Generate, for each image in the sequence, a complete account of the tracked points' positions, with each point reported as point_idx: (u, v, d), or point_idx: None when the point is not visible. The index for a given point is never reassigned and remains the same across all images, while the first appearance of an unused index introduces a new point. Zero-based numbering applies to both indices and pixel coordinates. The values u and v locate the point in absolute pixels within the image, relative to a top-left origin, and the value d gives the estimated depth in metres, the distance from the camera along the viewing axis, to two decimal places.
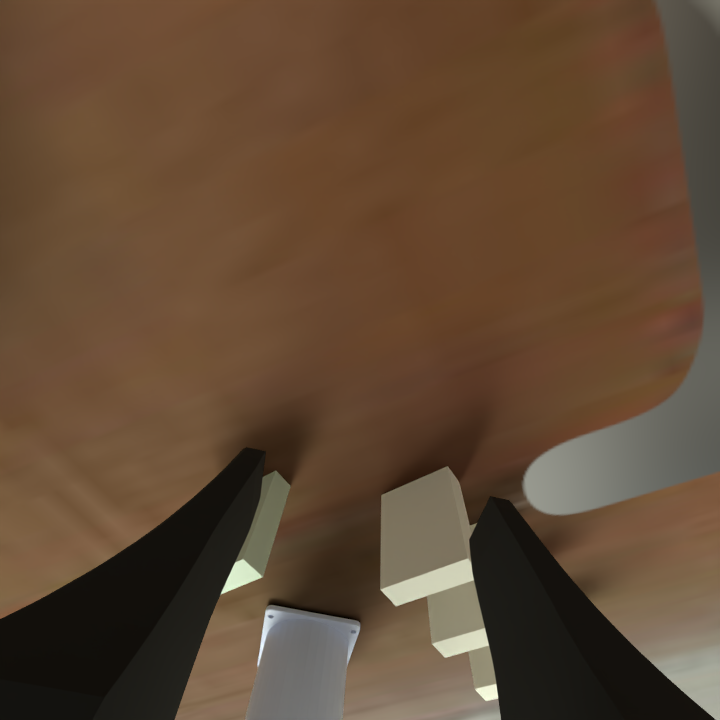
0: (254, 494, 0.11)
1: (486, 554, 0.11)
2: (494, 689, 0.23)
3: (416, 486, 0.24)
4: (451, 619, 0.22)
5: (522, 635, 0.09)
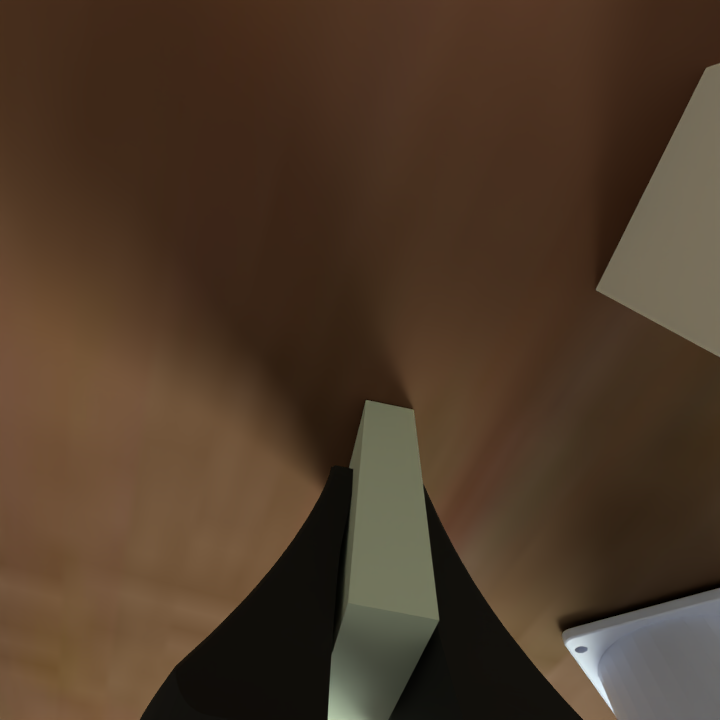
0: None
1: None
2: None
3: (663, 185, 0.09)
4: None
5: None
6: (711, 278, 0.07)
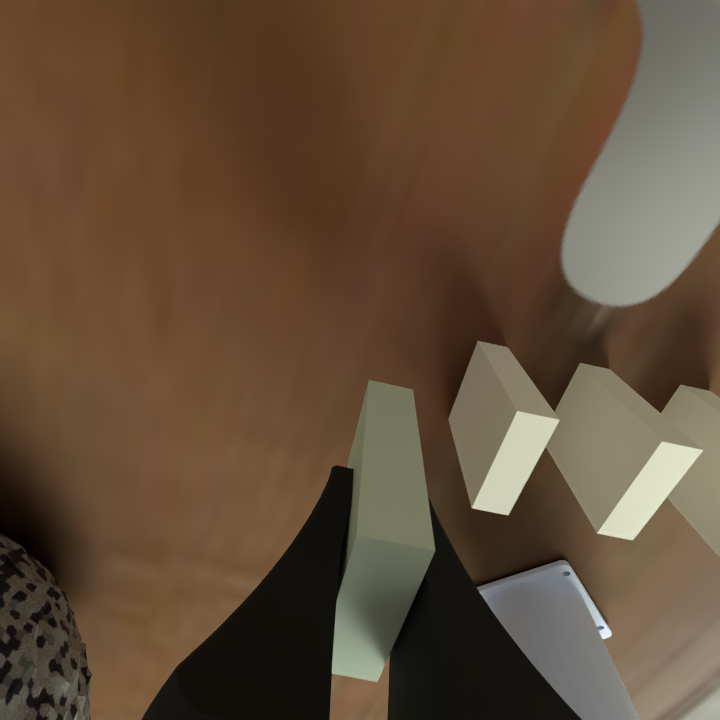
0: None
1: None
2: None
3: (465, 384, 0.20)
4: (601, 492, 0.16)
5: (408, 613, 0.09)
6: (465, 438, 0.18)
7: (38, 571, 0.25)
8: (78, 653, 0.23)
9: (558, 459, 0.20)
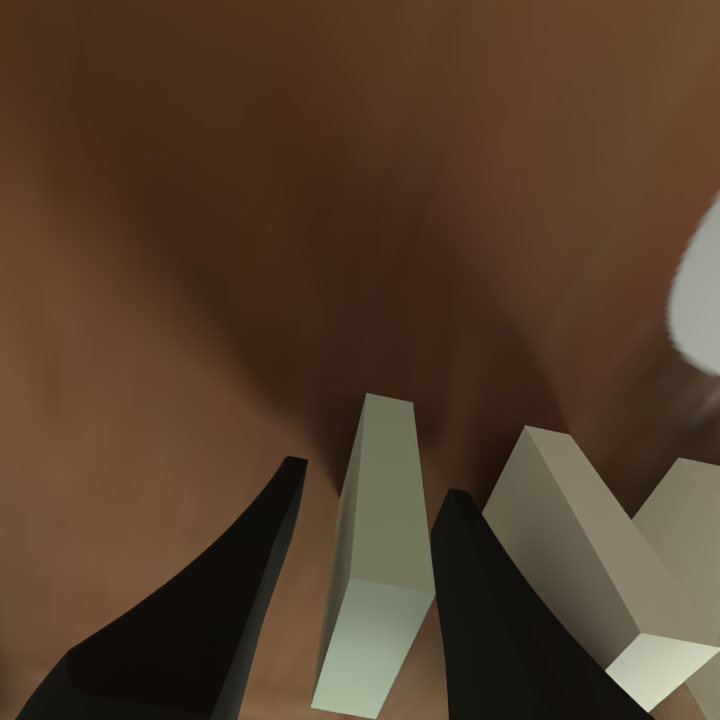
0: (298, 503, 0.11)
1: (443, 546, 0.11)
2: None
3: (504, 487, 0.13)
4: None
5: (468, 625, 0.09)
6: None
7: None
8: None
9: None
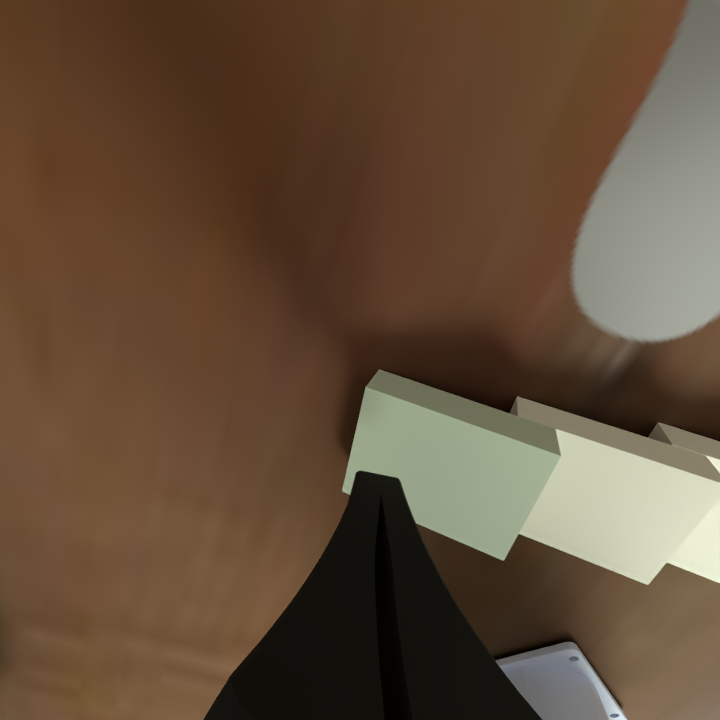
0: None
1: None
2: None
3: None
4: None
5: (377, 608, 0.09)
6: (567, 528, 0.14)
7: None
8: None
9: None
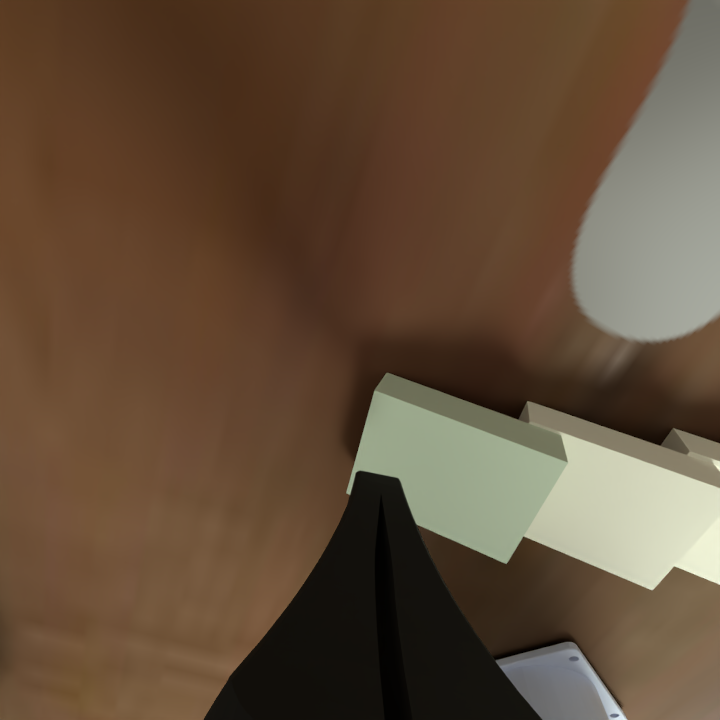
0: None
1: None
2: None
3: None
4: None
5: (377, 608, 0.09)
6: (574, 533, 0.14)
7: None
8: None
9: (681, 562, 0.15)
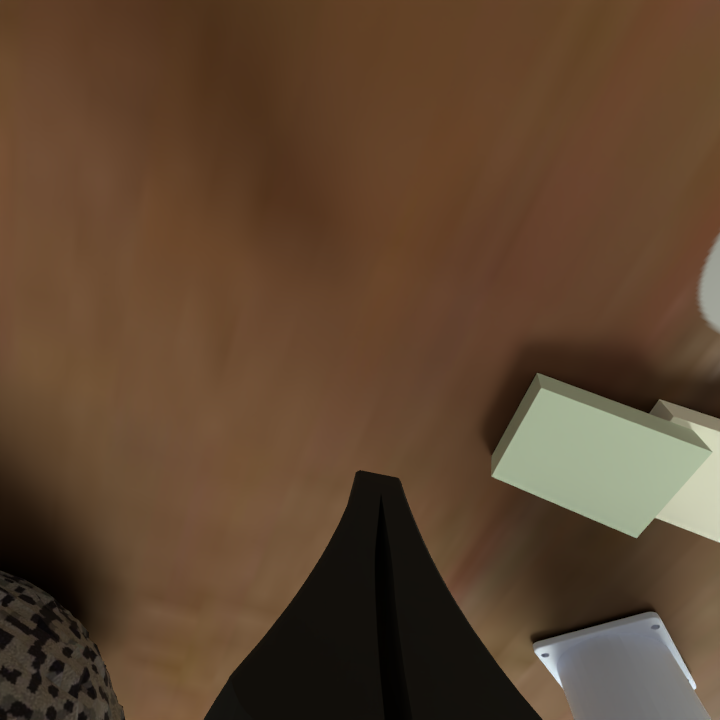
0: None
1: None
2: None
3: None
4: None
5: (377, 608, 0.09)
6: (699, 512, 0.17)
7: (71, 627, 0.23)
8: None
9: None
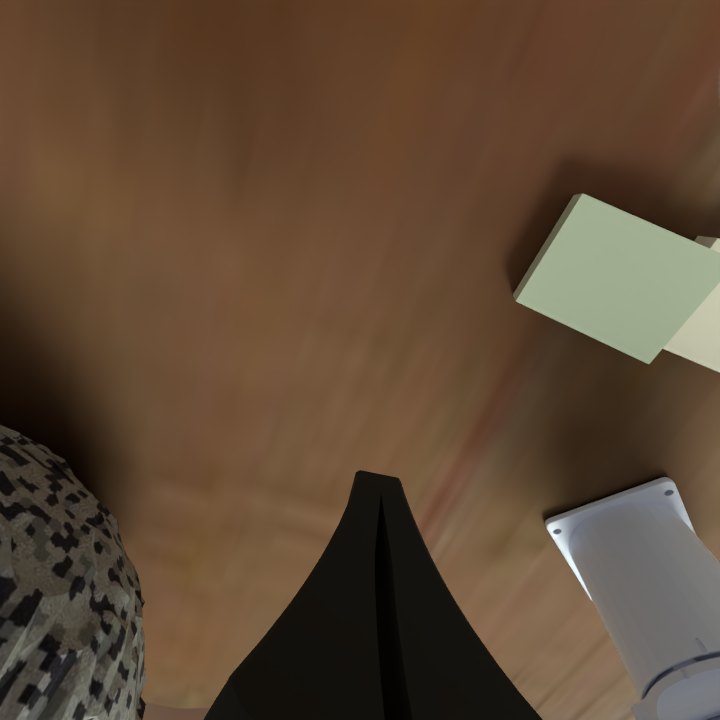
0: None
1: None
2: None
3: None
4: None
5: (377, 608, 0.09)
6: None
7: (84, 487, 0.22)
8: (133, 572, 0.21)
9: None
